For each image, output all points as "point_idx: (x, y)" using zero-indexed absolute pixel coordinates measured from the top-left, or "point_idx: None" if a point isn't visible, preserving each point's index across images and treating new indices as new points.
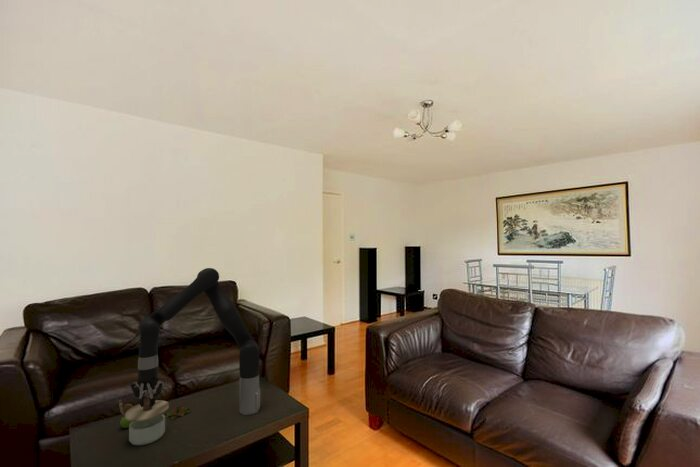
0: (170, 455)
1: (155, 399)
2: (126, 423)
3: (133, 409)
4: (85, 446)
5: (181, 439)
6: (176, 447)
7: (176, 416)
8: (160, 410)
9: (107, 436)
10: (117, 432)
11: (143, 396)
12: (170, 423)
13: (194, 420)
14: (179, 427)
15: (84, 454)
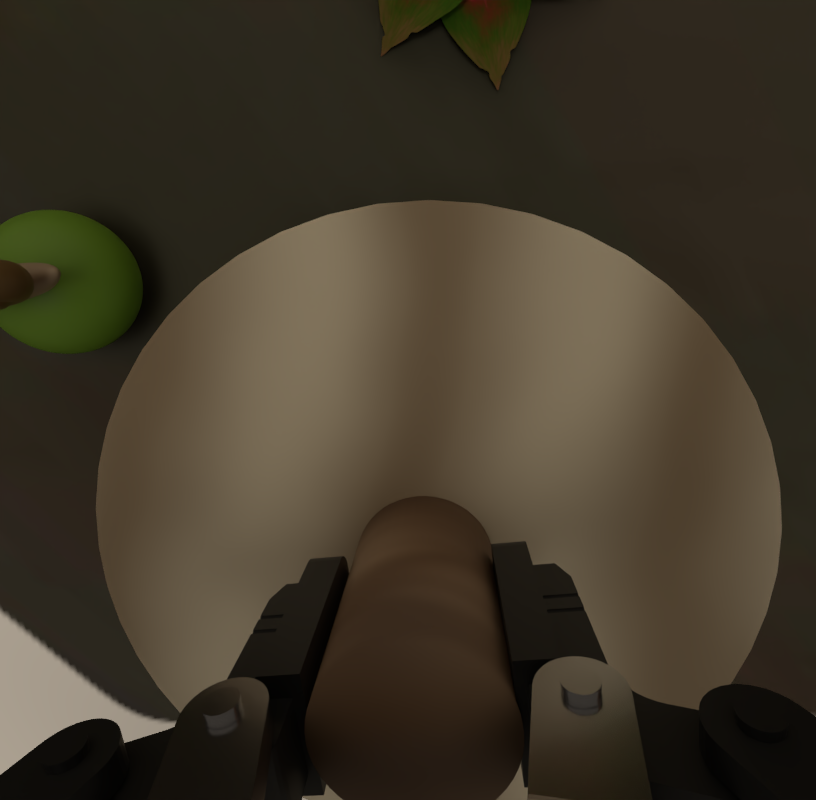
0: (812, 655)
1: (592, 630)
2: (105, 342)
3: (185, 581)
4: (26, 574)
5: (804, 447)
6: (813, 560)
7: (512, 12)
8: (698, 595)
9: (66, 441)
10: (96, 376)
11: (290, 784)
12: (520, 169)
13: (788, 71)
14: (673, 242)
15: (118, 658)
